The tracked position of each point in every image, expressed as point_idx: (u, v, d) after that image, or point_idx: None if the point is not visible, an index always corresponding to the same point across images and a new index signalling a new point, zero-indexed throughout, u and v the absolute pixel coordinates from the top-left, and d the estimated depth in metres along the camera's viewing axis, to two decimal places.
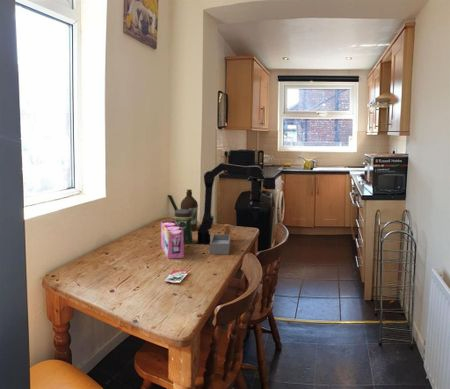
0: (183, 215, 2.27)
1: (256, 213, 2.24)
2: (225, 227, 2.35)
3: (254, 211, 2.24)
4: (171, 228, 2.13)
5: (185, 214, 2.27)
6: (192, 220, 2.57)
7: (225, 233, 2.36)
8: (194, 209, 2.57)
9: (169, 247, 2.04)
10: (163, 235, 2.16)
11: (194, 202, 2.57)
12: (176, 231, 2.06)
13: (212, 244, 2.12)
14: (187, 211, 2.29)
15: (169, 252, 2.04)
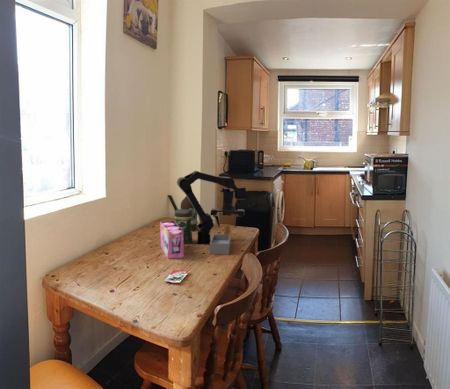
0: (183, 215, 2.27)
1: None
2: (225, 227, 2.35)
3: None
4: (171, 228, 2.13)
5: (185, 214, 2.27)
6: (192, 220, 2.57)
7: (225, 233, 2.36)
8: (194, 209, 2.57)
9: (169, 247, 2.04)
10: (163, 235, 2.16)
11: None
12: (176, 231, 2.06)
13: (212, 244, 2.12)
14: (187, 211, 2.29)
15: (169, 252, 2.04)
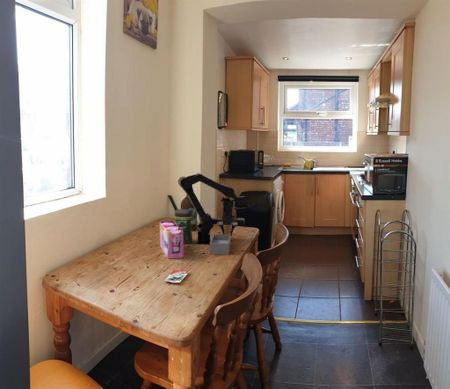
0: (183, 215, 2.27)
1: None
2: (225, 227, 2.35)
3: None
4: (170, 228, 2.13)
5: (185, 214, 2.27)
6: (192, 220, 2.57)
7: (225, 233, 2.36)
8: (194, 209, 2.57)
9: (169, 247, 2.04)
10: (162, 235, 2.16)
11: None
12: (176, 231, 2.06)
13: (212, 244, 2.12)
14: (187, 211, 2.29)
15: (169, 252, 2.04)
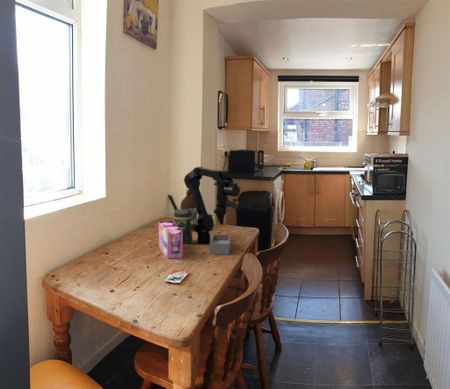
0: (182, 215, 2.27)
1: (222, 218, 2.18)
2: (225, 214, 2.19)
3: (220, 216, 2.18)
4: (170, 228, 2.13)
5: (185, 214, 2.26)
6: (192, 220, 2.57)
7: (225, 220, 2.20)
8: (194, 209, 2.57)
9: (168, 247, 2.04)
10: (161, 235, 2.16)
11: None
12: (175, 231, 2.06)
13: (212, 244, 2.12)
14: (186, 211, 2.28)
15: (168, 252, 2.04)
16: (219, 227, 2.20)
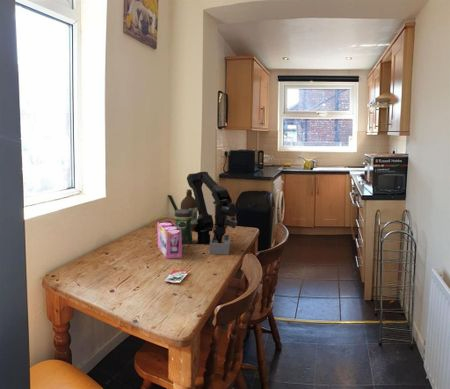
0: (183, 215, 2.27)
1: (220, 238, 2.15)
2: None
3: (218, 236, 2.15)
4: (168, 228, 2.13)
5: (185, 214, 2.27)
6: (192, 220, 2.57)
7: (223, 241, 2.20)
8: (194, 209, 2.57)
9: (167, 247, 2.04)
10: (160, 235, 2.16)
11: (194, 202, 2.57)
12: (174, 231, 2.06)
13: (212, 244, 2.12)
14: (187, 211, 2.29)
15: (167, 252, 2.04)
16: None
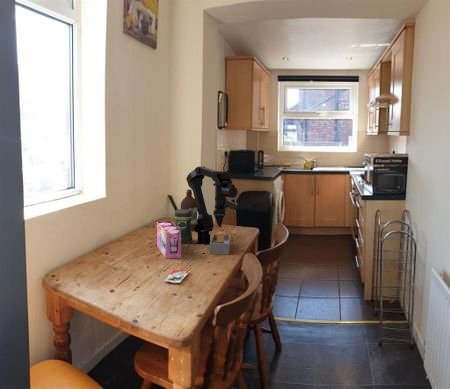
0: (183, 215, 2.27)
1: (220, 220, 2.13)
2: (223, 234, 2.19)
3: (218, 218, 2.13)
4: (168, 228, 2.13)
5: (185, 214, 2.27)
6: (192, 220, 2.57)
7: (223, 241, 2.20)
8: (194, 209, 2.57)
9: (167, 247, 2.04)
10: (160, 235, 2.16)
11: (194, 202, 2.57)
12: (173, 231, 2.06)
13: (212, 244, 2.12)
14: (187, 211, 2.29)
15: (167, 252, 2.04)
16: None
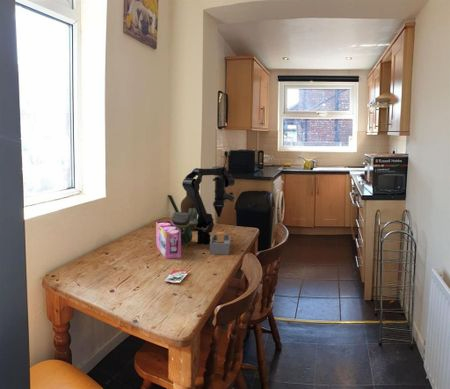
0: (180, 224, 2.19)
1: (219, 211, 2.37)
2: (223, 234, 2.19)
3: (217, 209, 2.37)
4: (167, 228, 2.13)
5: (183, 223, 2.18)
6: (192, 220, 2.57)
7: (223, 241, 2.20)
8: (194, 209, 2.57)
9: (167, 247, 2.04)
10: (159, 235, 2.15)
11: None
12: (173, 231, 2.06)
13: (212, 244, 2.12)
14: (185, 219, 2.19)
15: (167, 252, 2.04)
16: None
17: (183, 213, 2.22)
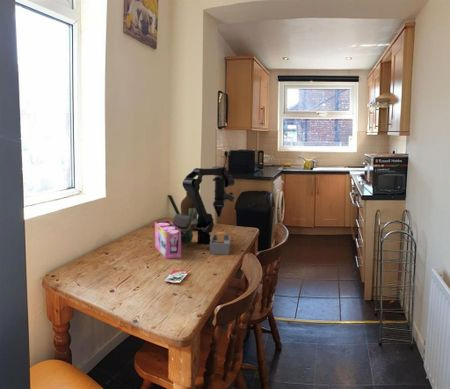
0: (181, 228, 2.17)
1: (219, 211, 2.37)
2: (223, 234, 2.19)
3: (217, 209, 2.37)
4: (167, 228, 2.13)
5: (184, 227, 2.17)
6: (192, 220, 2.57)
7: (223, 241, 2.20)
8: (194, 209, 2.57)
9: (167, 247, 2.04)
10: (158, 235, 2.15)
11: None
12: (173, 231, 2.06)
13: (212, 244, 2.12)
14: (185, 224, 2.16)
15: (167, 252, 2.04)
16: None
17: (184, 216, 2.19)
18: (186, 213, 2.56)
